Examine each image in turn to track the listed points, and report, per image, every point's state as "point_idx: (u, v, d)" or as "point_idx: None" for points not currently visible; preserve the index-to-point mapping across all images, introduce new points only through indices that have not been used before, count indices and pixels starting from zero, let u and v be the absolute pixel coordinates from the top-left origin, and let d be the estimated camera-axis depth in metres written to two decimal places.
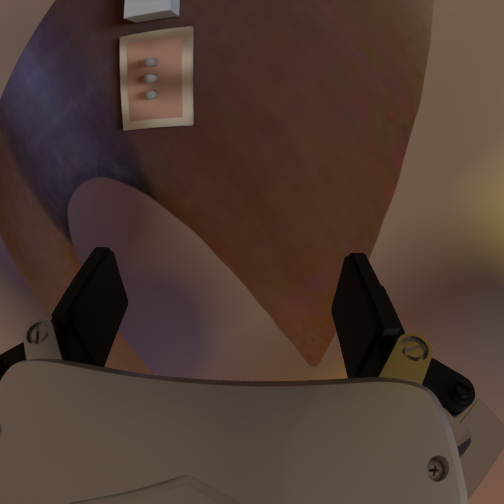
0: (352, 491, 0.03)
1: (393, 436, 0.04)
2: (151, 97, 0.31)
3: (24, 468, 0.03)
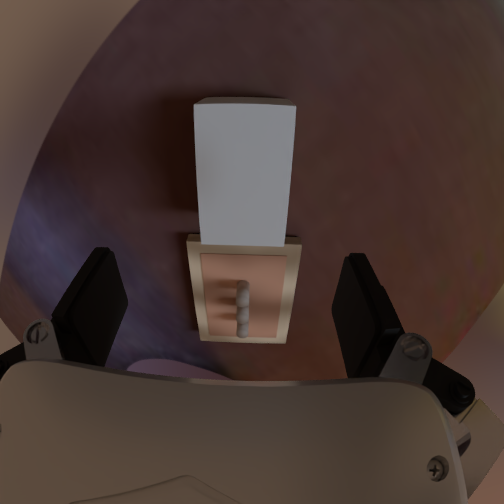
0: (352, 491, 0.03)
1: (393, 436, 0.04)
2: (246, 336, 0.29)
3: (24, 468, 0.03)
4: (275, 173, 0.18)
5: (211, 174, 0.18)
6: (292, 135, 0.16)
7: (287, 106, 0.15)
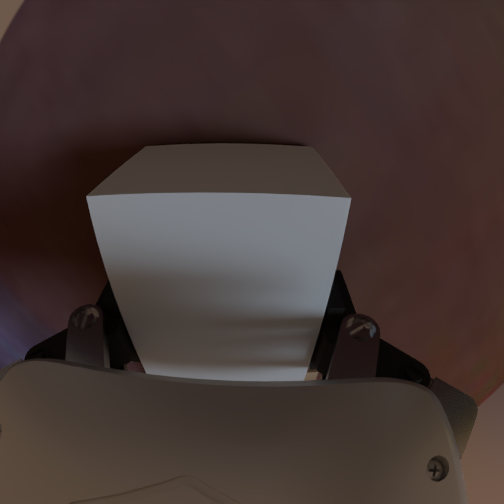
0: (352, 491, 0.03)
1: (393, 436, 0.04)
2: None
3: (24, 468, 0.03)
4: (286, 334, 0.08)
5: (155, 333, 0.09)
6: (332, 267, 0.07)
7: (328, 199, 0.06)
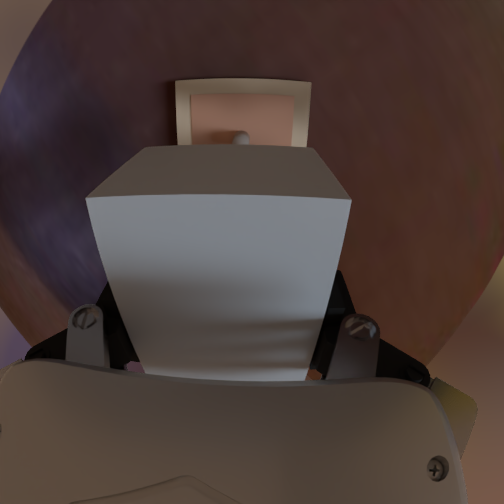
0: (352, 491, 0.03)
1: (393, 436, 0.04)
2: None
3: (24, 468, 0.03)
4: (286, 336, 0.08)
5: (155, 334, 0.08)
6: (332, 268, 0.07)
7: (328, 200, 0.06)
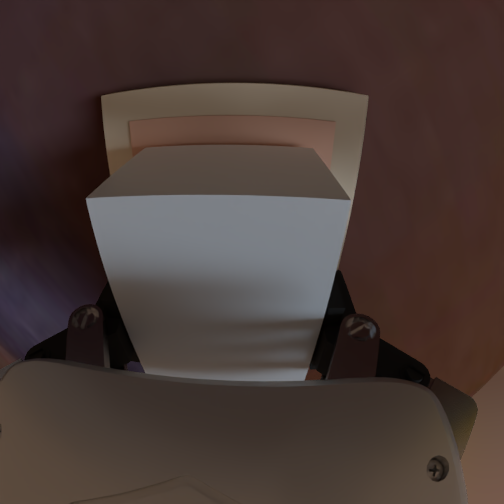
0: (352, 491, 0.03)
1: (393, 436, 0.04)
2: None
3: (24, 468, 0.03)
4: (286, 336, 0.08)
5: (155, 334, 0.08)
6: (332, 269, 0.07)
7: (328, 201, 0.06)
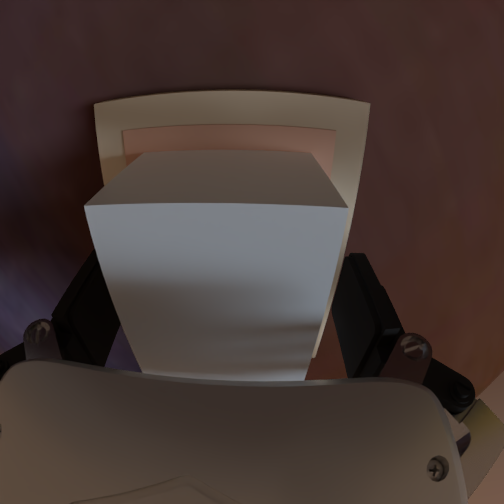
0: (352, 491, 0.03)
1: (393, 436, 0.04)
2: None
3: (24, 468, 0.03)
4: (284, 341, 0.08)
5: (154, 339, 0.09)
6: (330, 276, 0.07)
7: (325, 209, 0.06)
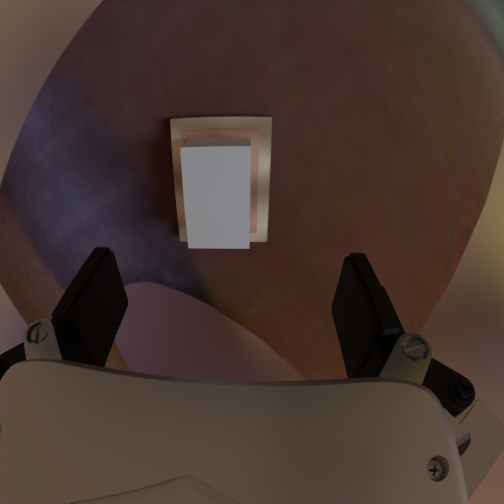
0: (352, 491, 0.03)
1: (393, 436, 0.04)
2: None
3: (24, 468, 0.03)
4: (239, 194, 0.26)
5: (194, 196, 0.26)
6: (249, 167, 0.24)
7: (244, 146, 0.23)
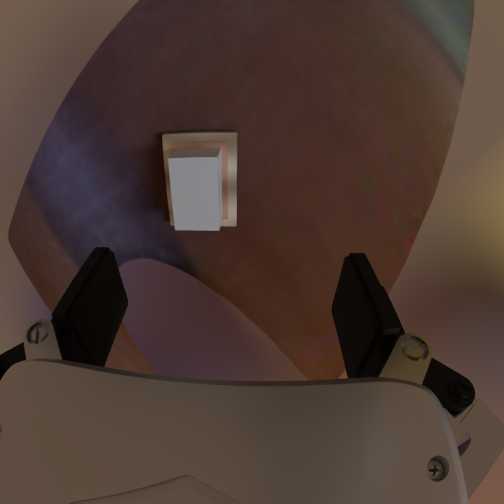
0: (352, 491, 0.03)
1: (393, 436, 0.04)
2: None
3: (24, 468, 0.03)
4: (210, 191, 0.35)
5: (178, 192, 0.35)
6: (216, 171, 0.34)
7: (213, 157, 0.33)
